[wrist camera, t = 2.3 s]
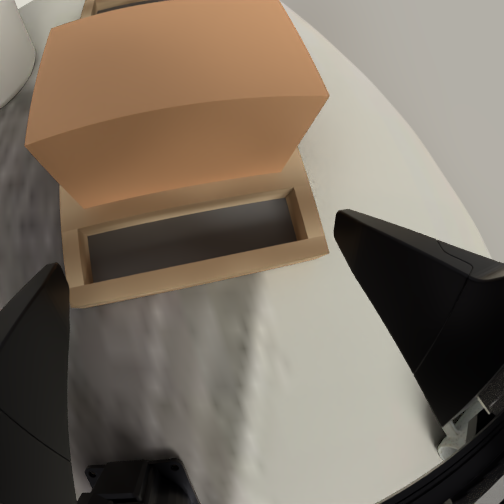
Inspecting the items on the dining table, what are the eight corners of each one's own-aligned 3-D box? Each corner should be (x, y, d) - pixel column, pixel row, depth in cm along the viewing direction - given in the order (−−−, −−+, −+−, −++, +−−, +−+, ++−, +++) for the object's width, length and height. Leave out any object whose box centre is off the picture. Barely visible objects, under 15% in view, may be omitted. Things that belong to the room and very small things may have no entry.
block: (280, 172, 17) (329, 95, 10) (84, 209, 14) (24, 145, 8) (251, 80, 18) (277, -3, 11) (83, 107, 15) (51, 28, 9)
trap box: (315, 258, 18) (329, 252, 16) (83, 308, 15) (70, 307, 13) (226, -9, 22) (228, -23, 20) (89, 10, 19) (86, -4, 17)
